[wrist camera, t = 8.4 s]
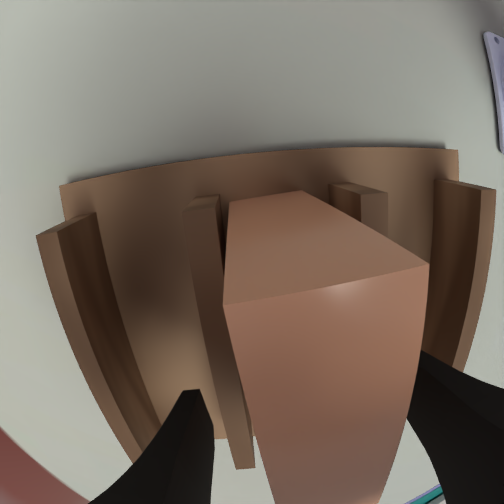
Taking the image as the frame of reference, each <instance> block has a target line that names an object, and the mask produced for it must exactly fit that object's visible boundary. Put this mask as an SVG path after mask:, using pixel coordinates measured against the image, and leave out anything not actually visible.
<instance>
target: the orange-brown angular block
mask: <svg viewBox="0 0 504 504" xmlns="http://www.w3.org/2000/svg"><path fill="white" fill-rule="evenodd" d="M428 280H429V263H427V262H425V261H424V260H422V259H421V258H419V257H418V256H416V255H414V254H413V253H411V252H410V251H408V250H406V249H405V248H403V247H401V246H400V245H398V244H397V243H395V242H393V241H392V240H390V239H388V238H387V237H385V236H383V235H382V234H380V233H378V232H376V231H375V230H373V229H371V228H370V227H368V226H366V225H364V224H363V223H361V222H359V221H357V220H356V219H354V218H352V217H350V216H349V215H347V214H345V213H343V212H341V211H340V210H338V209H336V208H334V207H332V206H331V205H329V204H327V203H325V202H323V201H321V200H319V199H318V198H316V197H314V196H312V195H310V194H308V193H306V192H304V191H302V190H300V191H293V192H287V193H280V194H274V195H268V196H262V197H255V198H250V199H244V200H238V201H232V202H229V215H228V229H227V243H226V259H225V275H224V292H223V309H224V313H225V318H226V322H227V326H228V330H229V335H230V339H231V343H232V347H233V351H234V355H235V359H236V363H237V367H238V371H239V375H240V379H241V383H242V387H243V391H244V395H245V399H246V402H247V406H248V410H249V414H250V418H251V421H252V425H253V429H254V432H255V436H256V439H257V443H258V447H259V450H260V454H261V457H262V461H263V464H264V468H265V471H266V475H267V478H268V481H269V485H270V488H271V491H272V495H273V498H274V501H275V504H377V503H378V502H379V500H380V497H381V495H382V492H383V490H384V487H385V485H386V482H387V479H388V476H389V474H390V471H391V468H392V465H393V462H394V459H395V456H396V453H397V449H398V446H399V443H400V440H401V436H402V433H403V429H404V425H405V422H406V418H407V414H408V410H409V406H410V401H411V397H412V393H413V388H414V383H415V378H416V373H417V368H418V362H419V357H420V351H421V344H422V337H423V330H424V322H425V314H426V304H427V293H428Z"/></svg>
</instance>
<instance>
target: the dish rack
mask: <svg viewBox="0 0 504 504" xmlns="http://www.w3.org/2000/svg"><path fill="white" fill-rule="evenodd" d="M59 188H60V195H61V201H62V206H63V212H64V217H65V222H63V223H61V224H58V225H56V226H54V227H52V228H50V229H48V230H46V231H44V232H42V233H40V234H38V235H36V239H37V243H38V247H39V251H40V255H41V259H42V263H43V266H44V270H45V273H46V277H47V280H48V284H49V287H50V290H51V293H52V296H53V299H54V302H55V305H56V308H57V311H58V314H59V317H60V320H61V322H62V325H63V328H64V330H65V333H66V335H67V338H68V341H69V343H70V345H71V348H72V350H73V353H74V355H75V357H76V360H77V362H78V364H79V366H80V369H81V371H82V373H83V375H84V377H85V379H86V382H87V384H88V386H89V388H90V390H91V392H92V394H93V396H94V398H95V400H96V402H97V404H98V405H99V407H100V409H101V411H102V413H103V415H104V417H105V418H106V420H107V422H108V424H109V426H110V427H111V429H112V431H113V432H114V434H115V436H116V437H117V439H118V441H119V442H120V444H121V446H122V447H123V449H124V450H125V452H126V454H127V455H128V457H129V458H130V460H131V461H132V463H134V462H135V461H136V460H137V459H138V458H139V456H140V455H141V454H142V453H143V451H144V450H145V449H146V447H147V446H148V445H149V443H150V442H151V441H152V439H153V438H154V436H155V435H156V433H157V432H158V430H159V429H160V427H161V426H162V424H163V423H164V421H165V420H166V418H167V416H168V415H169V413H170V411H171V410H172V408H173V406H174V404H175V403H176V401H177V399H178V397H179V396H180V394H181V392H182V391H183V390H192V389H200V391H201V394H202V396H203V399H204V402H205V404H206V407H207V410H208V412H209V415H210V417H211V420H212V422H213V425H214V439H225V438H227V439H228V442H229V446H230V450H231V453H232V457H233V461H234V464H235V468H236V469H249V468H255V458H254V446H253V436H255V432H254V429H253V425H252V421H251V418H250V414H249V410H248V406H247V402H246V399H245V395H244V391H243V387H242V383H241V379H240V375H239V371H238V367H237V363H236V359H235V355H234V351H233V347H232V343H231V339H230V335H229V330H228V326H227V322H226V318H225V313H224V309H223V292H224V275H225V259H226V243H227V229H228V215H229V202H232V201H238V200H244V199H250V198H255V197H262V196H268V195H274V194H280V193H287V192H293V191H300V190H302V191H304V192H306V193H308V194H310V195H312V196H314V197H316V198H318V199H319V200H321V201H323V202H325V203H327V204H329V205H331V206H332V207H334V208H336V209H338V210H340V211H341V212H343V213H345V214H347V215H349V216H350V217H352V218H354V219H356V220H357V221H359V222H361V223H363V224H364V225H366V226H368V227H370V228H371V229H373V230H375V231H376V232H378V233H380V234H382V235H383V236H385V237H387V238H388V239H390V240H392V241H393V242H395V243H397V244H398V245H400V246H401V247H403V248H405V249H406V250H408V251H410V252H411V253H413V254H414V255H416V256H418V257H419V258H421V259H422V260H424V261H425V262H427V263H429V280H428V293H427V304H426V314H425V322H424V330H423V337H422V344H421V350H423V351H424V352H426V353H428V354H430V355H432V356H433V357H435V358H437V359H439V360H440V361H442V362H444V363H446V364H448V365H449V366H451V367H453V368H455V369H457V370H459V371H461V372H463V370H464V367H465V364H466V361H467V358H468V355H469V352H470V348H471V345H472V342H473V338H474V335H475V331H476V327H477V323H478V319H479V315H480V311H481V306H482V302H483V297H484V292H485V287H486V282H487V276H488V270H489V264H490V257H491V250H492V241H493V232H494V220H495V205H496V190H495V189H491V188H487V187H482V186H478V185H473V184H469V183H464V182H459V161H458V150H452V149H435V148H409V147H342V148H315V149H297V150H282V151H269V152H258V153H247V154H237V155H228V156H220V157H211V158H204V159H196V160H189V161H182V162H176V163H169V164H163V165H157V166H151V167H145V168H140V169H134V170H129V171H124V172H119V173H114V174H109V175H104V176H99V177H95V178H90V179H86V180H82V181H77V182H73V183H69V184H65V185H61V186H59Z"/></svg>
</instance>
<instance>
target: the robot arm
mask: <svg viewBox="0 0 504 504" xmlns="http://www.w3.org/2000/svg"><path fill="white" fill-rule="evenodd" d="M483 36H484V41H485V45H486V49H487V53H488V58H489V63H490V68H491V73H492V79H493V85H494V91H495V98H496V106H497V115H498V126H499V140H500V149H501V152H502V153H503V154H504V38H503V37H500V36H498V35H496V34H494V33H492V32H489V31H488V32H485V33H484V35H483ZM407 420H408V421H409V423H410V425H411V426H412V428H413V430H414V431H415V433H416V435H417V436H418V438H419V440H420V441H421V443H422V445H423V446H424V448H425V450H426V452H427V454H428V456H429V457H430V460H431V462H432V465H433V467H434V469H435V472H436V474H437V477H438V480H439V483H440V485H441V488H442V491H443V494H444V498H445V501H446V504H504V389H503V388H499V387H497V386H494V385H491V384H488V383H485V382H483V381H480V380H478V379H476V378H474V377H471V376H469V375H467V374H465V373H463V372H461V371H459V370H457V369H455V368H453V367H451V366H449V365H448V364H446V363H444V362H442V361H440V360H439V359H437V358H435V357H433V356H432V355H430V354H428V353H426V352H424V351H423V350H421V351H420V357H419V362H418V368H417V373H416V378H415V383H414V388H413V393H412V397H411V401H410V406H409V410H408V414H407ZM214 450H215V446H214V425H213V422H212V420H211V417H210V415H209V412H208V410H207V407H206V404H205V402H204V399H203V396H202V394H201V391H200V389H192V390H183V391H182V392H181V394H180V396H179V397H178V399H177V401H176V403H175V404H174V406H173V408H172V410H171V411H170V413H169V415H168V416H167V418H166V420H165V421H164V423H163V424H162V426H161V427H160V429H159V430H158V432H157V433H156V435H155V436H154V438H153V439H152V441H151V442H150V443H149V445H148V446H147V447H146V449H145V450H144V451H143V453H142V454H141V455H140V456H139V458H138V459H137V460H136V461H135V462H134V463H133V465H132V466H131V467H130V468H129V469H128V470H127V471H126V472H125V473H124V474H123V475H122V476H121V477H120V478H119V479H118V480H117V481H116V482H115V483H114V484H113V485H111V486H110V487H109V488H108V489H107V490H106V491H104V492H103V493H102V494H100V495H99V496H98V497H96V498H95V499H94V500H92V501H91V502H90V503H88V504H210V500H211V486H212V475H213V463H214Z"/></svg>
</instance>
